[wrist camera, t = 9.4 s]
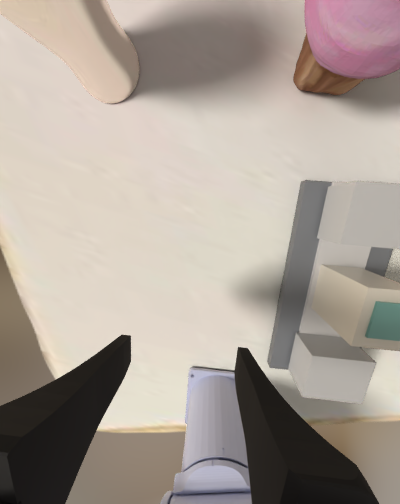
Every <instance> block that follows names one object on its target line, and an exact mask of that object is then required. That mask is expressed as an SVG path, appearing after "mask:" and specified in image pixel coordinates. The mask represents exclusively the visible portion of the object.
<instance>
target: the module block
mask: <svg viewBox="0 0 400 504" xmlns="http://www.w3.org/2000/svg"><path fill="white" fill-rule="evenodd" d="M311 308H312V309H313V310H314V311H315V312H316V313H317V314H318V315H319V316H320V317H321V318H322V319H323V320H325V321H326V322H327V323H328V324H329V325H330V326H331V327H332V328H333V329H334V330H335V331H336V332H337V333H338V334H339V335H340V336H341V337H342V338H343V339H344V340H345V341H346V342H347V343H348V344H349V345H350V346H354V347H364V348H374V349H384V350H394V351H400V283H399V282H396V281H394V280H391V279H388V278H386V277H383V276H380V275H378V274H375V273H373V272H370V271H367V270H365V269H362V268H357V267H345V266H333V265H322V264H321V267H320V271H319V275H318V280H317V284H316V289H315V293H314V297H313V302H312V306H311Z"/></svg>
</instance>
